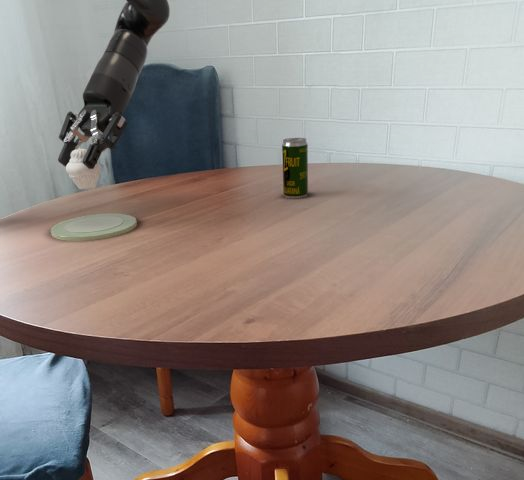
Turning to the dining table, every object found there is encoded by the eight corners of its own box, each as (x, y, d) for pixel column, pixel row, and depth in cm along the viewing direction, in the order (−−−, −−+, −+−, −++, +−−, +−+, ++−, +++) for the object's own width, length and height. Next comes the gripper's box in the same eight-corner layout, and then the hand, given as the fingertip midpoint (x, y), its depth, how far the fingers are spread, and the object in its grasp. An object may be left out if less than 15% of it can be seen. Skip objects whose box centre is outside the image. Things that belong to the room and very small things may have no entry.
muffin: (105, 182, 103) (98, 143, 100) (102, 189, 98) (94, 148, 95) (72, 185, 103) (64, 146, 99) (67, 192, 97) (58, 151, 94)
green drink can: (288, 193, 122) (287, 137, 117) (311, 194, 120) (311, 137, 115) (279, 199, 118) (278, 141, 112) (303, 200, 116) (302, 141, 110)
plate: (35, 242, 98) (33, 236, 98) (76, 218, 112) (74, 213, 112) (117, 242, 96) (116, 236, 95) (148, 218, 109) (148, 212, 109)
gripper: (71, 72, 100) (33, 150, 97) (126, 70, 93) (87, 154, 90) (98, 101, 106) (63, 174, 104) (152, 100, 99) (116, 180, 97)
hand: (75, 164), depth 97 cm, fingers closed on muffin, 6 cm apart
